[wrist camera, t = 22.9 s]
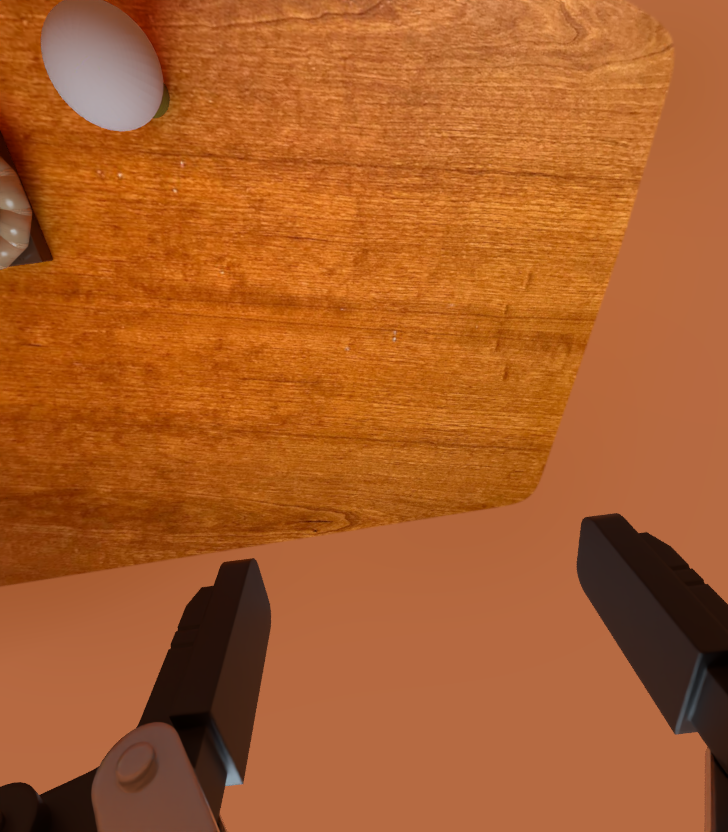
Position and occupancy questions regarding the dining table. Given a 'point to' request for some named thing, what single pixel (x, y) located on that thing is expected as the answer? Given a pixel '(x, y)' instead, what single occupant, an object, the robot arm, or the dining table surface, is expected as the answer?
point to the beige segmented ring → (12, 216)
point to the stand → (37, 243)
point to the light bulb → (103, 65)
